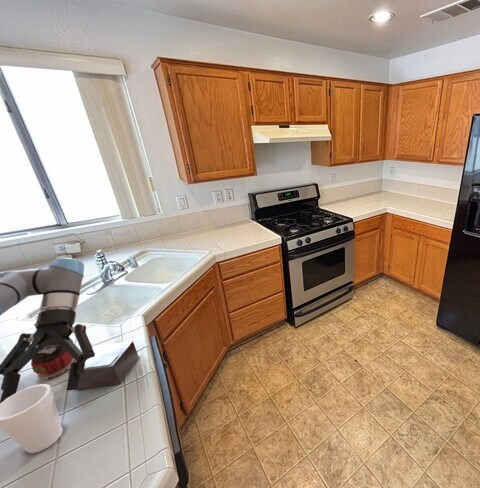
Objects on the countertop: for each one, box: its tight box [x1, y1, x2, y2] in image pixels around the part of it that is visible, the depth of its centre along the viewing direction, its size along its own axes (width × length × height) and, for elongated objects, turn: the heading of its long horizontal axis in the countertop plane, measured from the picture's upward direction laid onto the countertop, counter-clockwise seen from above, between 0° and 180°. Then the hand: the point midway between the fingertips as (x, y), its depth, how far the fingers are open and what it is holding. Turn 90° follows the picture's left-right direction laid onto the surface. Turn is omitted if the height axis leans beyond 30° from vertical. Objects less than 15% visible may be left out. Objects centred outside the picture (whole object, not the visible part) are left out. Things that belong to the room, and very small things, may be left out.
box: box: [68, 340, 140, 391], centre depth 83 cm, size 12×11×7 cm
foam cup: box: [0, 383, 64, 454], centre depth 63 cm, size 10×9×13 cm
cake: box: [27, 322, 76, 380], centre depth 84 cm, size 11×9×18 cm
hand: (39, 397), depth 65 cm, fingers open, 13 cm apart
